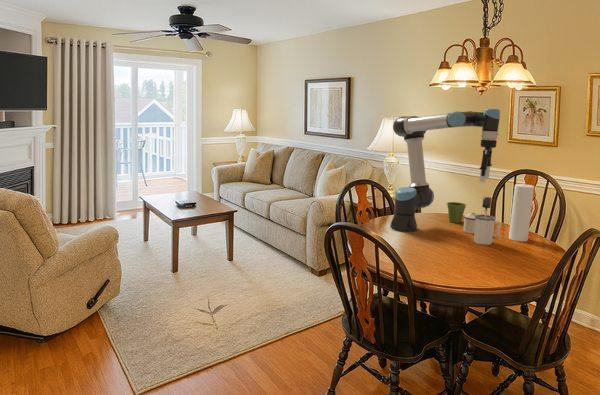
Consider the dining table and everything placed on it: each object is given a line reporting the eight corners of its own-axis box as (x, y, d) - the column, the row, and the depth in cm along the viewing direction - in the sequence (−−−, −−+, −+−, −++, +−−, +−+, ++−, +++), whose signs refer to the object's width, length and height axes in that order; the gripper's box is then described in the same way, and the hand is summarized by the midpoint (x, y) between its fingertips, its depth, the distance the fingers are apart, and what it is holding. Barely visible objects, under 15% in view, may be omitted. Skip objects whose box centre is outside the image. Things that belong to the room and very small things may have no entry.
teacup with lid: (481, 234, 260) (483, 214, 258) (464, 233, 262) (466, 213, 260) (476, 229, 272) (478, 209, 270) (460, 228, 274) (462, 208, 271)
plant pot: (468, 222, 288) (470, 204, 286) (459, 225, 280) (460, 206, 278) (451, 218, 296) (452, 201, 294) (441, 221, 288) (442, 203, 286)
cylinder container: (528, 238, 255) (535, 184, 249) (526, 242, 247) (533, 187, 241) (509, 235, 260) (516, 182, 254) (507, 239, 252) (513, 185, 246)
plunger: (476, 235, 244) (480, 198, 240) (478, 232, 250) (482, 196, 245) (488, 236, 242) (492, 199, 238) (490, 234, 247) (494, 197, 243)
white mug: (472, 242, 245) (474, 217, 242) (474, 238, 253) (477, 213, 250) (497, 246, 239) (499, 220, 236) (499, 242, 247) (501, 216, 244)
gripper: (494, 141, 225) (488, 184, 229) (499, 138, 246) (494, 177, 251) (477, 140, 228) (472, 183, 233) (484, 137, 250) (479, 176, 254)
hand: (484, 180), depth 242 cm, fingers open, 13 cm apart
